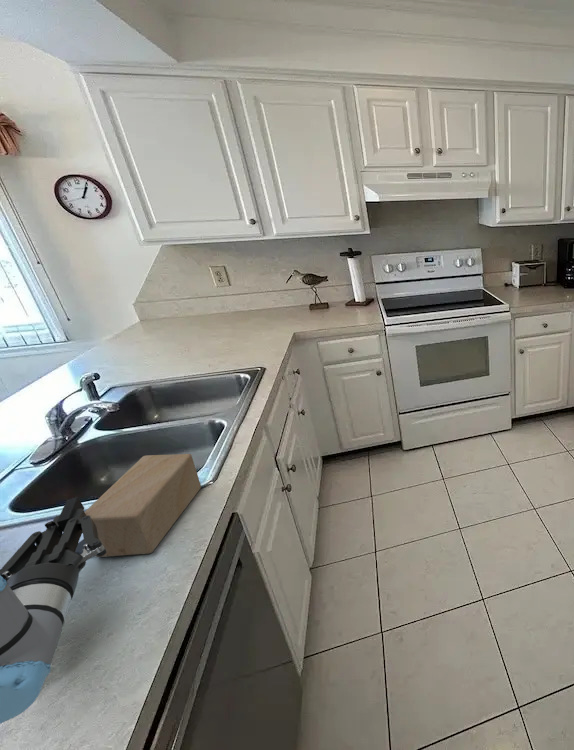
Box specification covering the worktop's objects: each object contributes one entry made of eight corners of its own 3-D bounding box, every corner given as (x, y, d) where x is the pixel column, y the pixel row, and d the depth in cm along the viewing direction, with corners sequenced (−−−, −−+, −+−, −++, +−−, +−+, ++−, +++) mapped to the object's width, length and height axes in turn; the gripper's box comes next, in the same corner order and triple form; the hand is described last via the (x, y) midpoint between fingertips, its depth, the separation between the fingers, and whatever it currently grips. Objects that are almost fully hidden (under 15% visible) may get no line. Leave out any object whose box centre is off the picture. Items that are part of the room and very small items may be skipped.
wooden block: (151, 554, 81) (202, 487, 99) (136, 515, 77) (191, 452, 95) (94, 558, 80) (156, 489, 97) (74, 519, 75) (143, 454, 93)
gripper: (-18, 646, 56) (37, 534, 74) (106, 597, 62) (129, 505, 80) (-51, 610, 53) (14, 502, 71) (83, 562, 59) (112, 474, 77)
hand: (75, 504), depth 75 cm, fingers closed
